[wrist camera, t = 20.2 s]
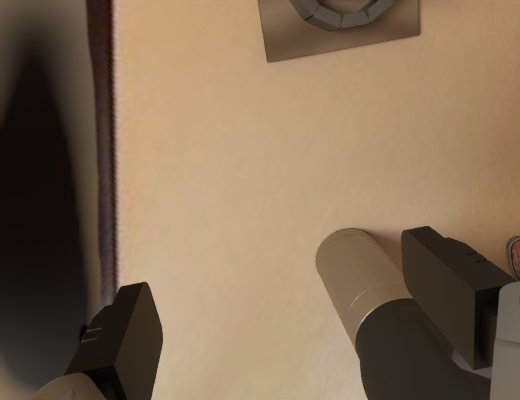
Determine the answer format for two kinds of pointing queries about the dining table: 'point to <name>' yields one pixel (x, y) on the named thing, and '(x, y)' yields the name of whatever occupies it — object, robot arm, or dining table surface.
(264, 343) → the dining table surface
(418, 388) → the robot arm
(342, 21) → the ring
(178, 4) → the dining table surface
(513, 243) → the lighter
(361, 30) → the base plate
